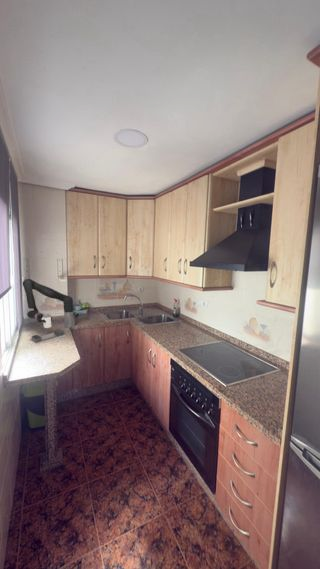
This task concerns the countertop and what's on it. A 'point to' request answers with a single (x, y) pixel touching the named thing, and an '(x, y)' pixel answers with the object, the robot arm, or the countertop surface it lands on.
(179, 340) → the countertop surface
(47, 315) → the grey module
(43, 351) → the countertop surface
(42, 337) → the mounting plate
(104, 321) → the countertop surface
